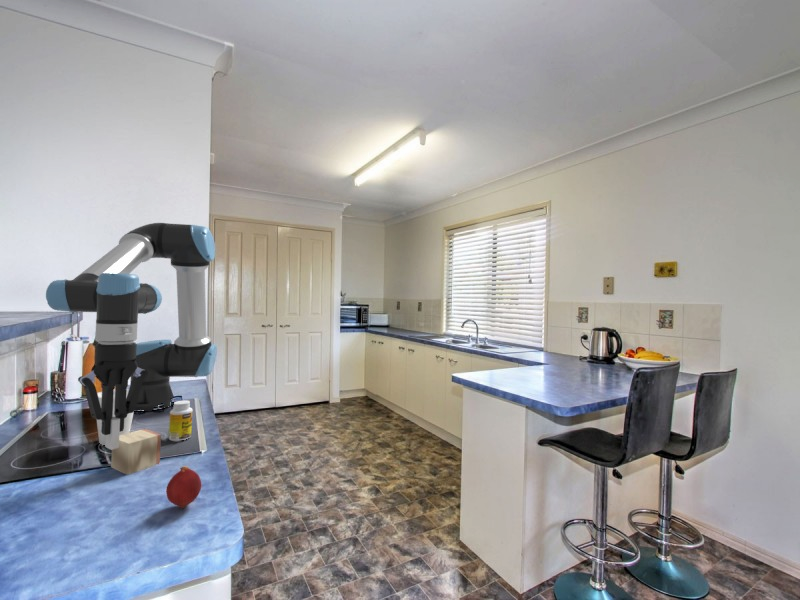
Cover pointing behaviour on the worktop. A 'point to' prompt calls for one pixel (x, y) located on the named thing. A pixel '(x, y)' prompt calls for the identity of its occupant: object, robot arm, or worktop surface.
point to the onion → (183, 487)
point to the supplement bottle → (180, 421)
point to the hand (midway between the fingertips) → (112, 447)
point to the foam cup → (126, 420)
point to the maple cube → (136, 451)
